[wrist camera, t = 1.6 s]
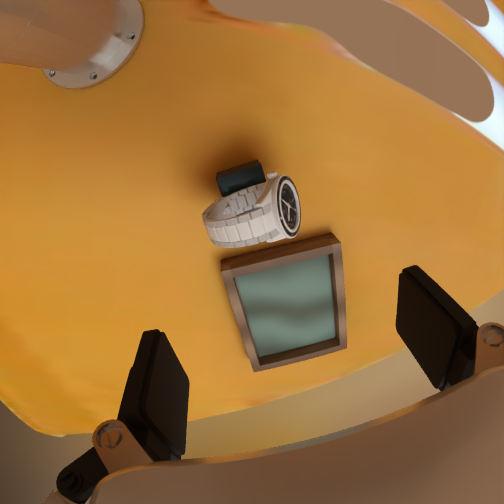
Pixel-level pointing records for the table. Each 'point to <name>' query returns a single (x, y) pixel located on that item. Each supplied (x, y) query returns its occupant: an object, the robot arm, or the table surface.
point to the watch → (252, 207)
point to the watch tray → (289, 301)
